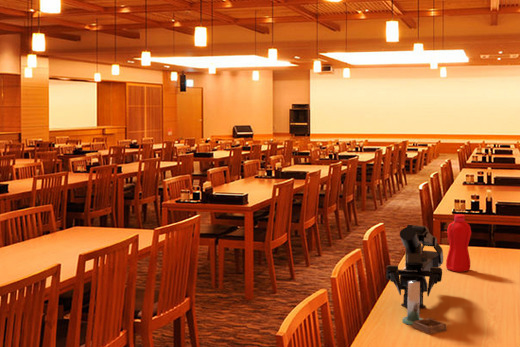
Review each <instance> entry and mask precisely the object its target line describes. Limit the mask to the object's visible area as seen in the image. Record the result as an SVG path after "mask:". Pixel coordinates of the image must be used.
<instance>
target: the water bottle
mask: <svg viewBox="0 0 520 347" xmlns="http://www.w3.org/2000/svg"><path fill="white" fill-rule="evenodd" d="M446 231H447V232H446V233H447V245H449V249H448V252H447V256H446V261H445V267H446V269H447V270H448V271H449V270H450V271H452V272H455V273H461V272H463V273H464V272H469V271H470V270H471V258H470V253H469V243H470V240H471V236H472V229H471V225H470V224H469V223H467V222H466V220H465V215H464V214H459V213H458V214H455V215H454V219H453V221H451V222H450V223H449V224H448V225H447V230H446Z"/></svg>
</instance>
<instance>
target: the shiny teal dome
mask: <svg viewBox="0 0 520 347" xmlns="http://www.w3.org/2000/svg"><path fill="white" fill-rule="evenodd" d="M422 319H423V318H422V317H419V320H422ZM402 323H403V324H405V325H408V326H413V321H408V320H407V316H405V317H403V318H402Z"/></svg>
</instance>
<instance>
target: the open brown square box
mask: <svg viewBox="0 0 520 347" xmlns="http://www.w3.org/2000/svg"><path fill="white" fill-rule="evenodd" d="M412 328H414V329H415V330H417V331H421V332H423V333H426V334H428V335H431V334H435V333H441V332H445V331H447V324H446V323H444V322H441V321H439V320H437V319H433V318H431V317H428V318H422V320H417V321H413V325H412Z"/></svg>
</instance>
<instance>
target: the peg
mask: <svg viewBox="0 0 520 347" xmlns="http://www.w3.org/2000/svg"><path fill="white" fill-rule="evenodd" d="M406 308H407V309H406V317H407V320H408V321H417V320H419V318H420V314H421V313H420V311H421V310H420V309H421V308H420V281H416V280H410V281H408V302H407V307H406Z"/></svg>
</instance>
